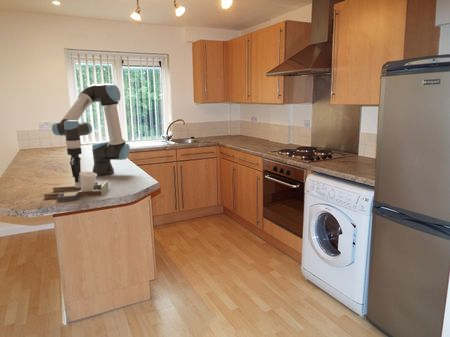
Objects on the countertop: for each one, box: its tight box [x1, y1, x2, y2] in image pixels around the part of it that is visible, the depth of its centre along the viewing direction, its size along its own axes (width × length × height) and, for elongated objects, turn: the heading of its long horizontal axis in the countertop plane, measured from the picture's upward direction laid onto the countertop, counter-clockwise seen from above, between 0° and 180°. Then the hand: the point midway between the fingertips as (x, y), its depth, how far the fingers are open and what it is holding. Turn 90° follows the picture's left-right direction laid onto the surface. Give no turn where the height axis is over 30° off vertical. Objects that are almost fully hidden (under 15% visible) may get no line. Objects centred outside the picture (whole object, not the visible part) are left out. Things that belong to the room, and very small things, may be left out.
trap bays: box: [56, 181, 99, 203], centre depth 195 cm, size 30×15×2 cm, turn 9°
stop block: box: [100, 179, 110, 196], centre depth 197 cm, size 15×1×5 cm, turn 9°
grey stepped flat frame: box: [43, 184, 103, 200], centre depth 195 cm, size 15×31×2 cm, turn 99°
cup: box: [79, 171, 97, 192], centre depth 195 cm, size 10×10×11 cm
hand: (78, 187), depth 194 cm, fingers closed
